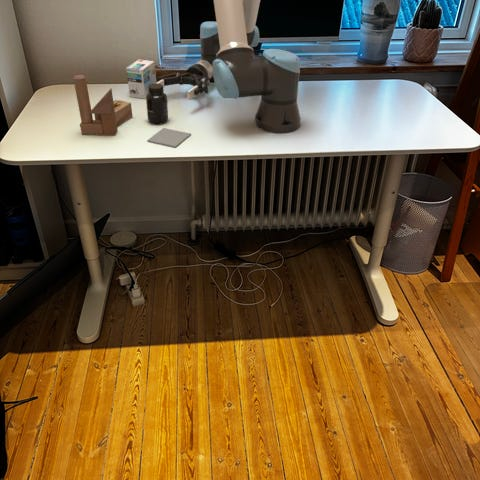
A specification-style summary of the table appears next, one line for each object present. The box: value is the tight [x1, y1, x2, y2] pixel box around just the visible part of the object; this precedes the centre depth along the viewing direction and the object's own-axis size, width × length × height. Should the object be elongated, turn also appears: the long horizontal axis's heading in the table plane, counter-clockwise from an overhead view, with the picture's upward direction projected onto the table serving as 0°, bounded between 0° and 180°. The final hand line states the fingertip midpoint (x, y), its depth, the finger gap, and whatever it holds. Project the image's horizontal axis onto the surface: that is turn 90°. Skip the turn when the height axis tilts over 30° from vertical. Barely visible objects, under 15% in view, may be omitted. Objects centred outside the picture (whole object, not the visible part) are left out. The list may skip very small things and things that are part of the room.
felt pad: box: [146, 127, 192, 149], centre depth 157 cm, size 10×10×1 cm
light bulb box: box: [125, 59, 157, 100], centre depth 184 cm, size 11×7×11 cm, turn 164°
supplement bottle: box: [145, 83, 169, 125], centre depth 164 cm, size 7×7×12 cm
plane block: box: [94, 99, 134, 128], centre depth 164 cm, size 6×12×8 cm, turn 157°
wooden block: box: [72, 74, 118, 136], centre depth 154 cm, size 4×11×18 cm, turn 87°
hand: (170, 92), depth 170 cm, fingers open, 13 cm apart
